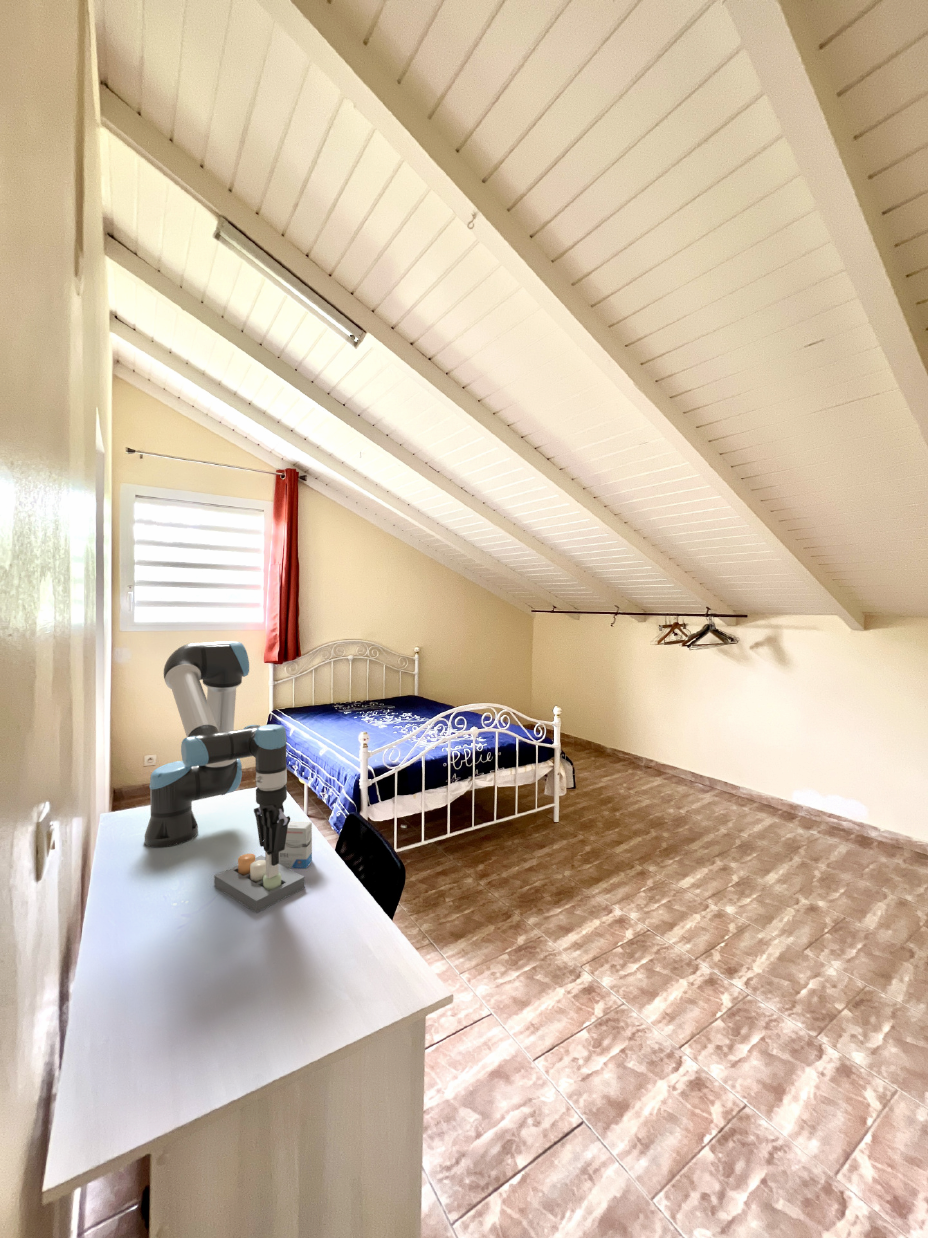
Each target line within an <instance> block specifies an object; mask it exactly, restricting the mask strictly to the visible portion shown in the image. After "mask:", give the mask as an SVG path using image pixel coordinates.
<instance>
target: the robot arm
mask: <svg viewBox="0 0 928 1238" xmlns="http://www.w3.org/2000/svg"><path fill="white" fill-rule="evenodd" d="M249 673H250V659H249V655H248V652H247V649H246V647H245V646H244V644H243V643H242V642H240V641H229V640H226V641H214V642H213V641H212V642H211V641H209V642H190V643H187V644H184V645H181V646H179V648H177V649H176V650H174V651H173V652H172V653H171V654H170V655H169V657H168V658H167V660H166V662H165V665H164V668H163V679H164V683H165V685H166V686H167V687H168V688H169V689H170V690H171V691H172V695H173V699H174V701H175V704H176V708H177V711H178V714H179V717H180V720H181V723H182V727H183V730H184V732H185V735H186V737H185V738H183V739H182V741H181V745H180V753H181V760H176V761H172V762H169V763H166V764H163V765H161V766H159V767H157V768H155V769H154V770H153V771H152V772H151V775H150V777H149V778H150V780H149V785H148V786H149V790H150V795H149V796H150V819H149V821H148V824H147V827H146V830H145V833H144V844H145V845H146V846H148V847H151V848H167V847H168V848H169V847H172V846H177V845H181V844H183V843H186V842H188V841H191V840H192V839H194V838H195V837H196V836H197V835H198V833H199V826H198V821H197V820H196V817H195V815H194V812H193V810H192V809H193V808H192V806H193V804H192V802H194V801H199V800H204V799H209V798H213V797H216V796H225V795H227V794H230V793H234V792H235V791H236V790H238V788H239V787H240V785H241V781H242V776H243V770H242V768H243V767H242V766H243V765H242V762H241V759H245V758H251V757H254V758H255V787H256V789H255V803H256V804H258V807H256V808H253V813H254V816H255V819H256V826H257V834H258V841H259V842H258V843H259V847H261V848H262V847H263V851H265V852H264V853H265V855H264V857H265V860H266V877H267V878H269V879H270V878H272V877H274V876H276V875H278V874H279V867H278V864H279V852H280V851H283V850H284V849H285V842H286V835H287V829H288V824H289V822H290V821H291V817H290V815H288V816H286V815H285V813H284V812H285V808H284V803H285V801H286V800H287V797H288V796H287V795H288V793H287V792H288V791H287V785H286V784H287V782H288V780H287V779H288V775H287V774H288V773H287V772H288V771H287V770H288V769H287V741H288V738H287V733H286V732H287V731H286V730H287V729H286V727H285V726H283V725H281V724H265V725H258V724H249V725H247V726H245V727H244V728H243V729H235V730H234V728H235V715H236V714H235V712H236V700H237V699H236V698H237V697H236V696H237V688H238V687H239V686H241V685H242V683H243V678H244V677H247V676H248V675H249ZM201 681H202V683H201ZM202 685H204V686H205V687H206V688H207V693H205V691H204V689H203V686H202Z"/></svg>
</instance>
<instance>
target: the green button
mask: <svg viewBox="0 0 928 1238" xmlns="http://www.w3.org/2000/svg"><path fill="white" fill-rule="evenodd" d="M280 885H281V874H280V873H279V874H278V875H276V876H274V877H272V878H270V879H269V878H267V877H266V875H265V876H264V877H263V887H264V888H265V889H267V890H269V891H270V890H272V889H274V888H276V887H278V886H280Z"/></svg>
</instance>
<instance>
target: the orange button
mask: <svg viewBox="0 0 928 1238" xmlns="http://www.w3.org/2000/svg"><path fill="white" fill-rule="evenodd" d="M255 858H256V854H254V853H245V854H242V855H240V856H239V857H238V858H237V866H238V873H239V874H241V875H243V876H244V875H247V874H249V873H250V865H251V863H253V862H255Z"/></svg>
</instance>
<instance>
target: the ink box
mask: <svg viewBox="0 0 928 1238" xmlns="http://www.w3.org/2000/svg"><path fill="white" fill-rule="evenodd" d="M312 827H313V822H312V821H310V822H309V821H291V820H290V822H289V824H288V829H287V835H286V842H285V849H284V850H283V851H280V852H279V864H280V865H282V866H284V867H286V868H288V869H290V868H291V869H307V868H308V867H309V865H310V864H311V863H312V861H313V834H312V833H313V832H312V831H313V828H312Z"/></svg>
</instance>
